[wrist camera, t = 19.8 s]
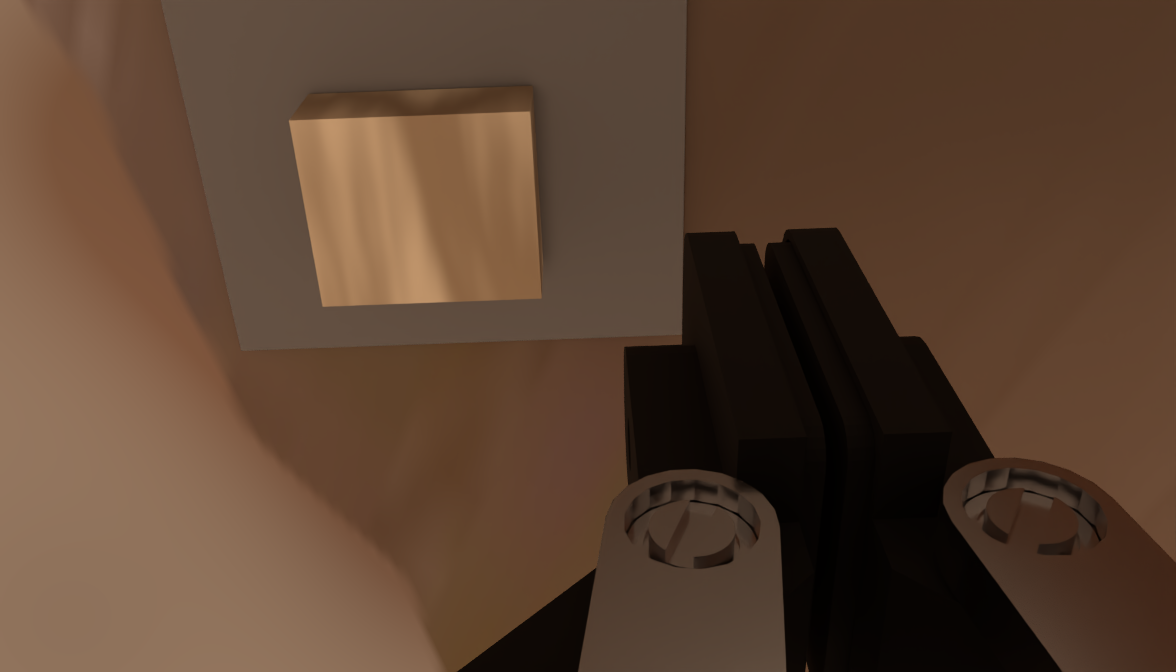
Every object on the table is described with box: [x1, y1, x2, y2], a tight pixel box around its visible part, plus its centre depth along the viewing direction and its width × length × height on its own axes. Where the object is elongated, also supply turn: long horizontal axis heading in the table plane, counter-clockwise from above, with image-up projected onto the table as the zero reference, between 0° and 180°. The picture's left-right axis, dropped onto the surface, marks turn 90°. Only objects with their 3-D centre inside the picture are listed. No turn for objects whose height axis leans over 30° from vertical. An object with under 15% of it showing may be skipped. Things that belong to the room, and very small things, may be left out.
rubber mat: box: [161, 0, 687, 351], centre depth 39 cm, size 18×14×1 cm
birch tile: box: [289, 86, 543, 307], centre depth 37 cm, size 3×7×8 cm
